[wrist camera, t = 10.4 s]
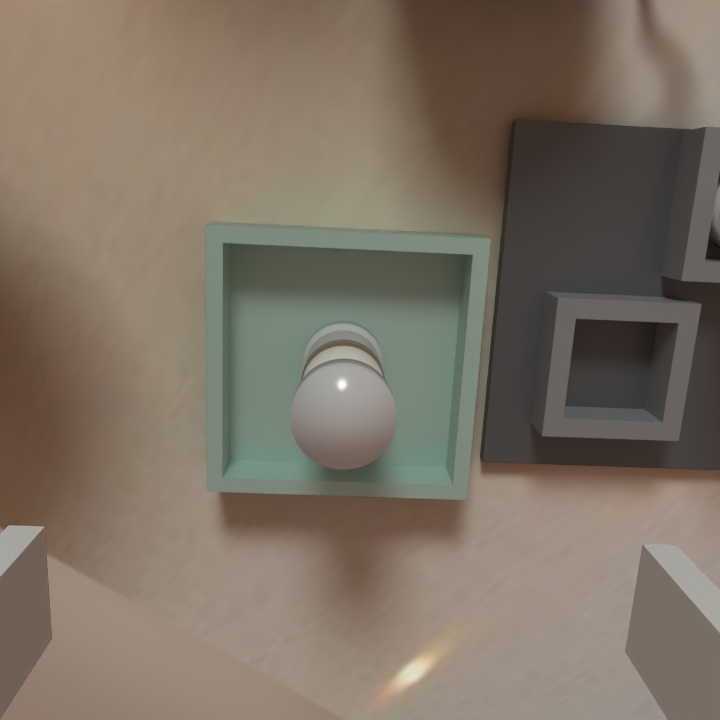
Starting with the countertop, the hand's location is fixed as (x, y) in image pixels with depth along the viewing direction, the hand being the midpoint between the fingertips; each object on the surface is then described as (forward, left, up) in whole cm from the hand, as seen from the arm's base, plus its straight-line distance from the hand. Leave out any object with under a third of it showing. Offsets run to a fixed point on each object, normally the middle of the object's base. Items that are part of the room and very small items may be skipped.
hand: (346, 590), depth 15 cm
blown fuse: (0, 0, -22) cm, 22 cm away
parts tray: (0, 0, -23) cm, 23 cm away
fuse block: (+16, +3, -23) cm, 28 cm away
